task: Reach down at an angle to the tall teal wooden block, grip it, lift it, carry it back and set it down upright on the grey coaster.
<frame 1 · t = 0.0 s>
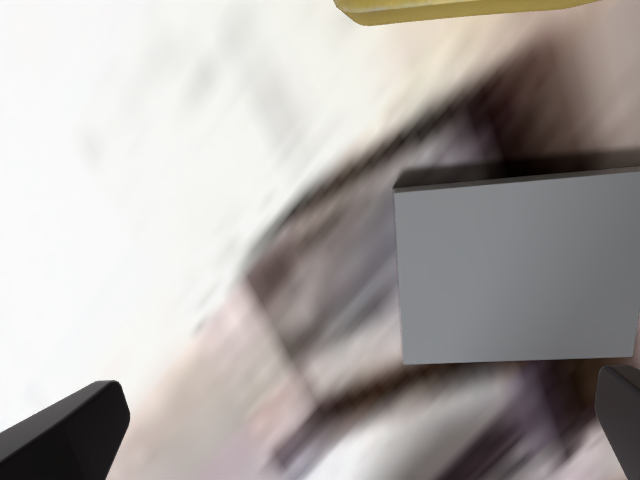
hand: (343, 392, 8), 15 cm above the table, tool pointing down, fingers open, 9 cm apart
coaster: (509, 268, 22), on the table
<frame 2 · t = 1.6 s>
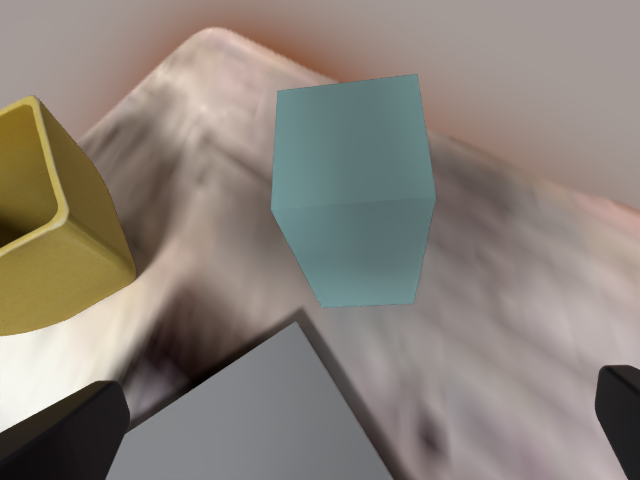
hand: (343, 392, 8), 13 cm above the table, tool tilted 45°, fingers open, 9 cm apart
flower pot: (94, 269, 26), on the table
block: (364, 263, 23), on the table
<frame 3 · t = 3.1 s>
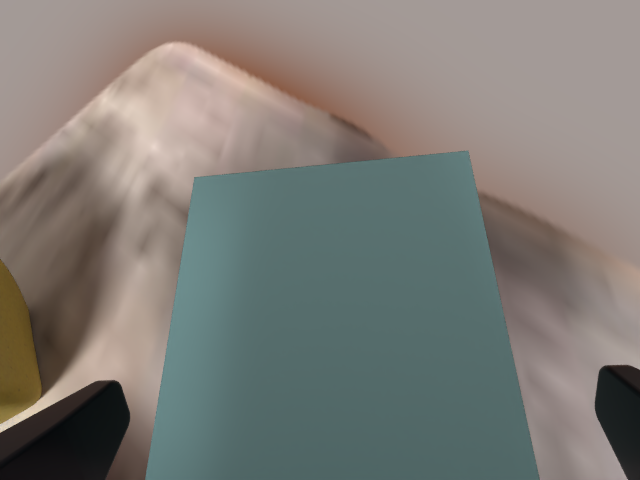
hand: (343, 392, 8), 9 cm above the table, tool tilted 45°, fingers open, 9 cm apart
block: (364, 384, 16), on the table
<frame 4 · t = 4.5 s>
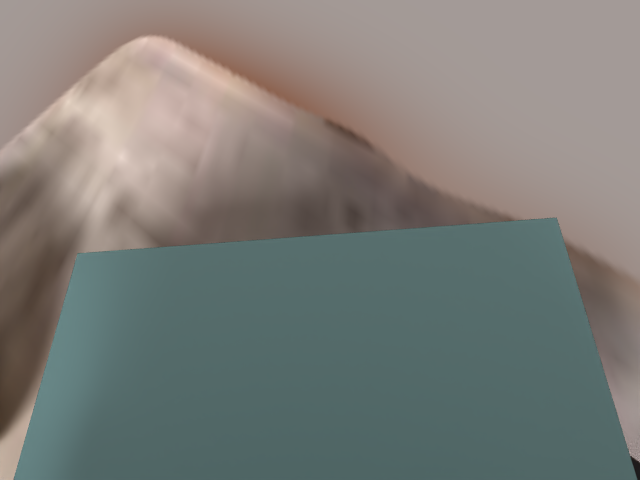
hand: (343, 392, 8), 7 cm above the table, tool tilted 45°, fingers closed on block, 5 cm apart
block: (364, 458, 13), on the table, touching gripper
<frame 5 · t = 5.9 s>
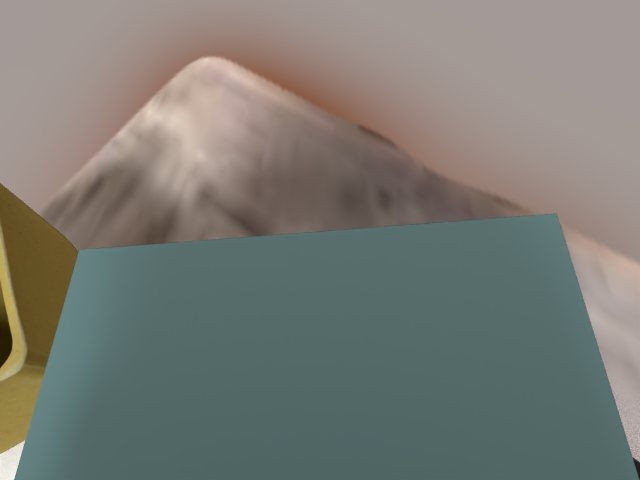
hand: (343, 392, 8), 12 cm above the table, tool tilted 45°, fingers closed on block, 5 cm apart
flower pot: (74, 359, 22), on the table
block: (364, 457, 13), point 5 cm above the table, touching gripper
when the fingers open (9 cm above the table, at t = 7.6 s): block stays where it is, resting on coaster.
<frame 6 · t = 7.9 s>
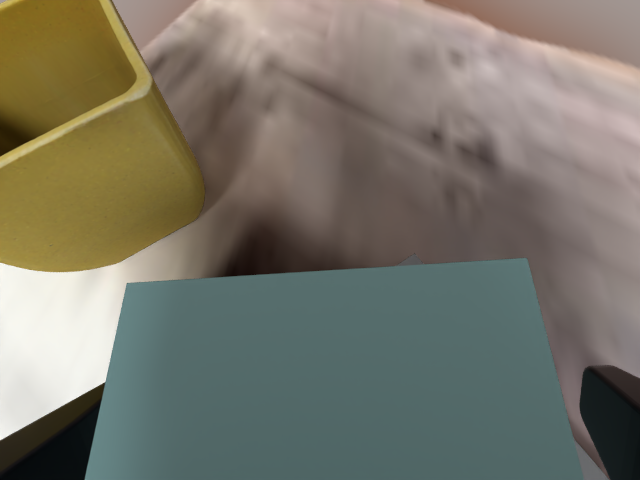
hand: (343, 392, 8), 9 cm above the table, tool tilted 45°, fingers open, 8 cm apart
coaster: (367, 455, 15), on the table
flower pot: (145, 208, 22), on the table
block: (366, 457, 14), point 1 cm above the table, touching coaster
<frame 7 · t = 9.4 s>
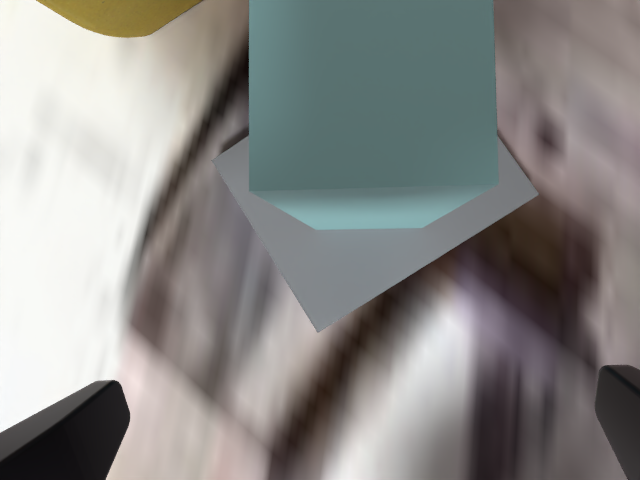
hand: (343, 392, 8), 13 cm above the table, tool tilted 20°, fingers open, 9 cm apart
coaster: (367, 181, 20), on the table
block: (367, 176, 19), point 1 cm above the table, touching coaster
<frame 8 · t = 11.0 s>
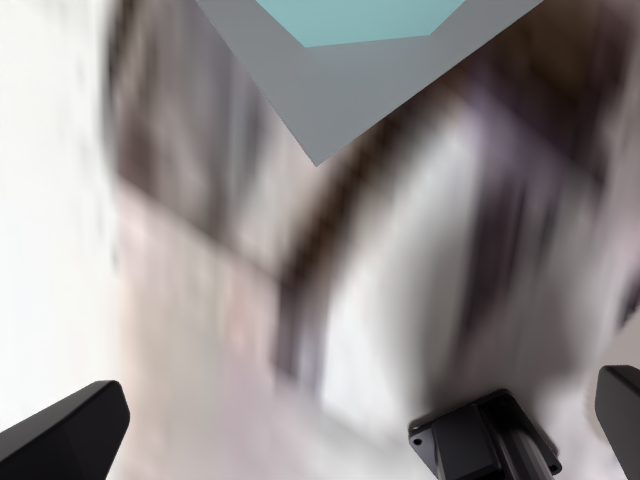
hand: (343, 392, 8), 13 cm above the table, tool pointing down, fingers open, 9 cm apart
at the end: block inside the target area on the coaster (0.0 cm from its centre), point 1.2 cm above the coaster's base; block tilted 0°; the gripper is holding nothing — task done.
